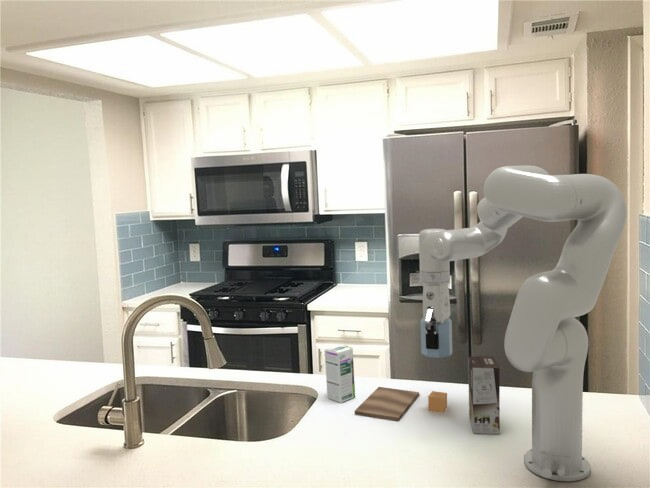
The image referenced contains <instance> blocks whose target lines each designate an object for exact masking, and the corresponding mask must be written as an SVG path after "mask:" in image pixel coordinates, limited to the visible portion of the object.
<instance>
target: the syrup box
mask: <svg viewBox="0 0 650 488" xmlns="http://www.w3.org/2000/svg"><path fill="white" fill-rule="evenodd" d="M324 362H325V376H326V378H325V379H326V380H325V381H326V382H325V383H326V395H327V396H326V397H327V399H329V400H332V401H334V402H337V403H339V404H342V403H344V402H346V401H348V400H351V399H353V398H355V397H356V387H355V368H354V367H355V365H354V351H353V347H351V346H349V345H345V344H337V345H334V346H332V347H328V348H325V349H324Z"/></svg>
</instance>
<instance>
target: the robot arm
mask: <svg viewBox="0 0 650 488" xmlns="http://www.w3.org/2000/svg"><path fill="white" fill-rule="evenodd" d="M483 195H484V197H483V198H481V200H480V201H479V202H478V204H477V206H476V210H477V211H476V212H477V216H478V218H479V220H480V221H479V222H477V224H475V225H474V226H472V227H465V228H454V229H447V230H446V229H444V228H426V229H422V230H420V232H419V233H418V245H419V246H418V250H419V251H418V252H419V253H418V254H419V256H418V258H419V279H420V280H419V283H420V285H423V286H422V288H423V289H422V315H423V316H422V318H423V319H424V321H425V325H426V326H425V327H426V330H425V333H426V348H427V349H436V350H438V349H439V334H437V330H438V322H439V323H440V324H442V323H443V322H445V321H446V320H447V319H448V318H450V317H451V303H450V290H449V284H451V272H450V271H451V270H450V262H454V261H460V260H468V259H475V258H479V257H481V256H483V255H485V254H488V252H490V251H491V250H492V249H494V248H496V247H497V246H498V245H499V244H501V243H502V242H503V241H504V239H505V237H506V235H507V232H508V229H509V228H511V226H513V225H515V223H517V222H518V221H520V220H521V219H522V218H524V217H525V218H528V219H533V220H537V221H541V222H545V223H546V222H548V223H556V222H557V223H558V222H565V221H575V220H576V221H578V222H577V225H576V226H575V227H574V229H573V230H572V232H571V233H569V235H568V237H567V238H566V240H565V243H564V245H563V247H562V251H561V254H560V257H559V260H558V262H557V264H556V266H555V267H554V268H553V269H551V270H548V271H541V272H538V273H536V274H533V275H531V276H530V277H528V278H526V280H525V281H524V282H523V284H522V285H521V286H520V288H519V289H518V292H517V293H516V294H517V295H516V297H515V301H514V304H513V308H512V311H511V314H510V317H509V320H508V324H507V328H506V330H505V334H504V335H505V336H504V342H503V343H504V345H503V347H504V353H505V357H506V358H507V360H508V362H509V363H510V364H511V366H512V367H514V368H515V369H517V370H519V371H522V372H523V373H524V372H525V373H533V374H532V379H531V448H530V449H529V450H527V451H526V452H525V453H524V455H523V462H524V466H526V468H527V469H528V470H529V471H530V472H532V473H533V474H535V475H537V476H539V477H542V478H545V479H548V480H552V481H558V482H576V481H581V480H583V479H585V478H587V477H588V476H589V475H590V473H591V463H590V461H589V460H588V459H587V458H586V457H585V456H583V398H584V397H583V395H584V393H583V392H584V391H583V390H584V388H583V387H584V372H585V366H586V360H587V356H588V350H589V336H588V332H587V330H586V327H585V326H584V325H583V323H581V321H579V320H578V319H577V317H581V316H584V315H586V314H587V313H589V312H591V311H592V310H593V309H594V307H595V306H596V303H597V301H598V299H599V295H600V293H601V290H602V288H603V285H604V282H605V279H606V277H607V273H608V272H609V268H610V265H611V262H612V259H613V258H614V254H615V252H616V249H617V246H618V245H619V243H620V239H621V237H622V235H623V232H624V229H625V226H626V221H627V206H626V202H625V197H624V195H623V194H622V192H621V190H620V189H619V187H618V186H617V185H616V184H615V183H614V182H612V181H611V180H610V179H608V178H607V177H604V176H602V175H597V174H592V173H591V174H590V173H577V174H575V173H574V174H556V175H555V174H553V175H552V174H551V175H550V173H549V172H548V171H546V170H545V169H544V168H542V167H541V166H540V167H539V166H536V165H506V166H501V167H498V168H496V169H494V170H492V172H491V173H489V174H488V176H487V178H486V179H485V182H484V184H483ZM432 320H436V321H432ZM432 324H435V328H434V326H433V325H432Z"/></svg>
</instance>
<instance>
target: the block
mask: <svg viewBox="0 0 650 488" xmlns="http://www.w3.org/2000/svg"><path fill="white" fill-rule="evenodd" d="M427 402H428V409H427V410H428V412H434V413H439V414H445V412H446V410H447V409H448V392H444V391H443V392H442V391H435V390H432V391H431V393H429V395H427Z"/></svg>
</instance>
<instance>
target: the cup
mask: <svg viewBox="0 0 650 488" xmlns="http://www.w3.org/2000/svg"><path fill="white" fill-rule="evenodd" d="M432 321H436V320H432ZM419 323H420V351H421V353H420V354H421V355H423V356H425V357H428V358H435V359H437V358H439V359H440V358H446V357H451V355H452V354H453V324H452V323H453V321H452V319H451V318H450V317H449V318H448V319H447V320H446V321H445V322H443V323H442V324H440V323H439V322H438V330H437V334H439V349H438V350H436V349H427V348H426V333H425V330H426V327H425V326H426V325H425V321H424V319H423V317H422V318H421V320H420V321H419ZM432 325H433V326H434V328H435V324H432Z"/></svg>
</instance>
